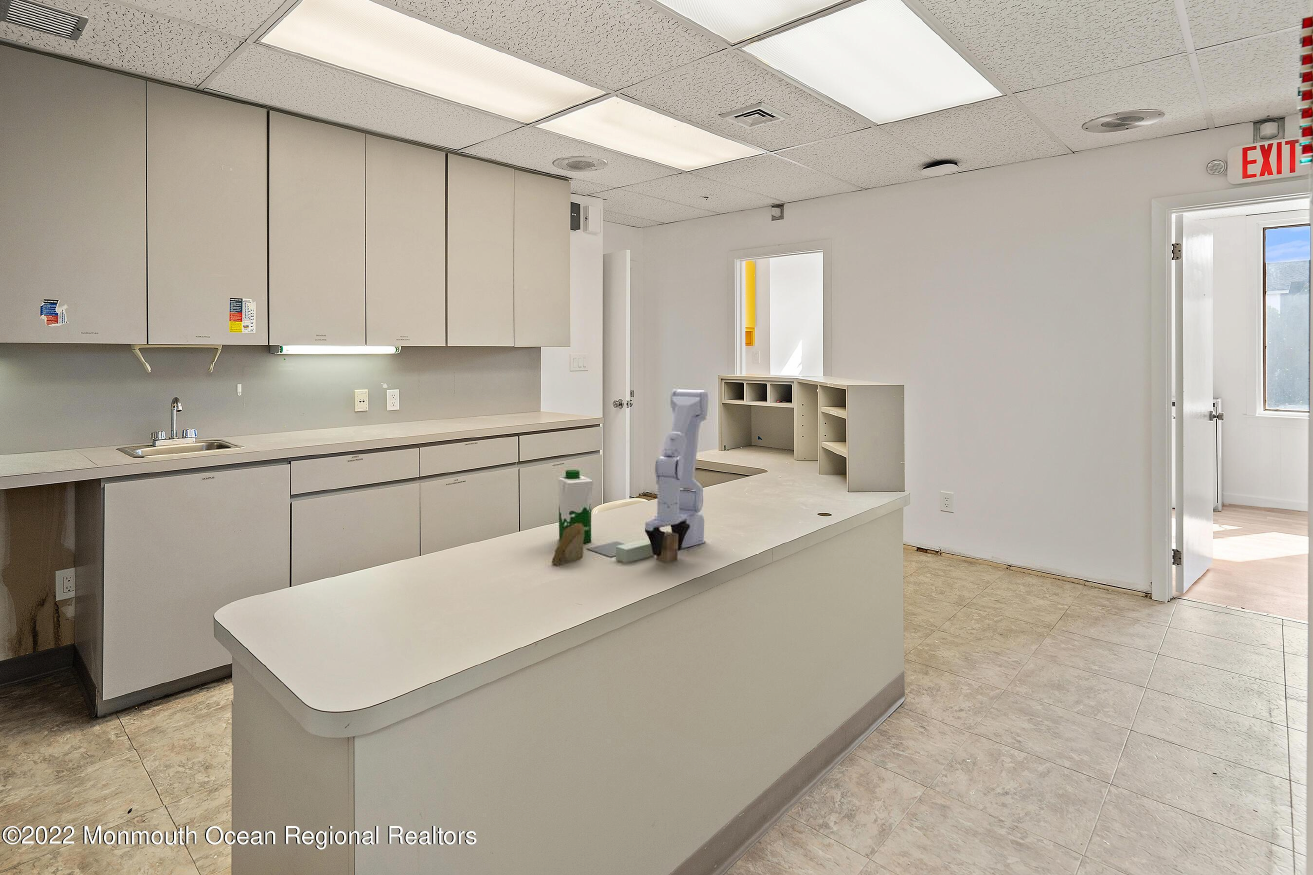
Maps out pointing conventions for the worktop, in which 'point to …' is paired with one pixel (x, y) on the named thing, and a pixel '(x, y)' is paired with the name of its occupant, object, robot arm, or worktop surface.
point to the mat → (606, 549)
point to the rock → (570, 545)
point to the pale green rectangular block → (634, 551)
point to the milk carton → (575, 502)
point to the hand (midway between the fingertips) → (667, 552)
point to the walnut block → (669, 548)
